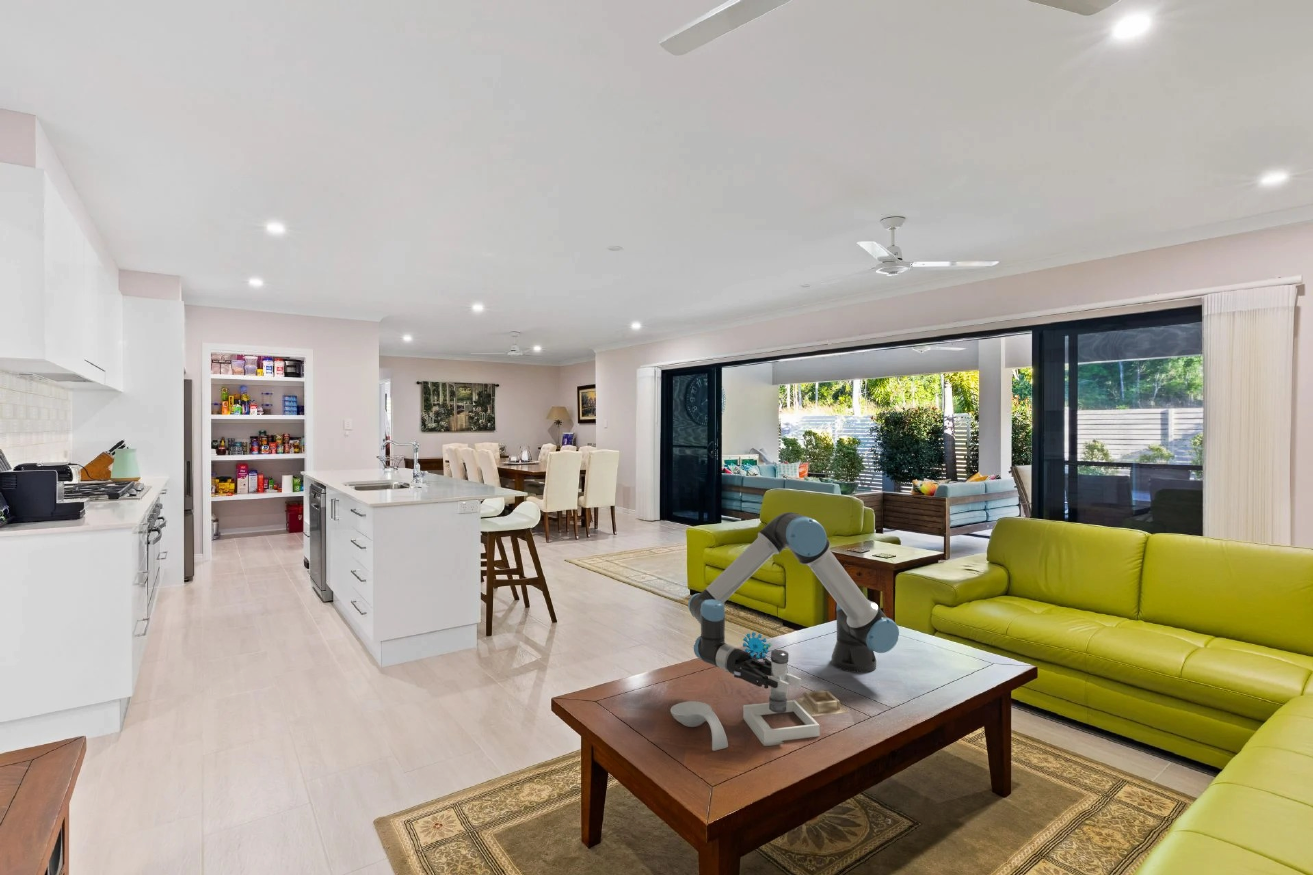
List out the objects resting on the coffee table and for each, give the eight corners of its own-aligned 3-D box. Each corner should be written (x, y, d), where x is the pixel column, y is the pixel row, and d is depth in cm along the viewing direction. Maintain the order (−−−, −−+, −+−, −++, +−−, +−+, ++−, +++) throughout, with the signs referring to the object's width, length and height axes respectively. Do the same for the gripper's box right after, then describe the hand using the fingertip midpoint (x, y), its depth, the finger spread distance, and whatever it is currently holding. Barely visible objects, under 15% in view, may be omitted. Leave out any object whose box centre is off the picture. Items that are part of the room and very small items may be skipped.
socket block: (830, 697, 200) (830, 686, 200) (849, 715, 188) (849, 703, 188) (794, 701, 197) (794, 690, 197) (811, 719, 186) (811, 707, 185)
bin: (794, 712, 190) (794, 699, 190) (819, 739, 174) (819, 724, 174) (743, 718, 186) (743, 705, 186) (764, 746, 171) (764, 731, 171)
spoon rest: (663, 717, 188) (663, 692, 188) (699, 709, 193) (699, 685, 193) (702, 755, 167) (702, 728, 167) (741, 745, 172) (740, 719, 171)
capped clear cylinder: (784, 704, 183) (786, 649, 182) (788, 712, 178) (790, 656, 177) (767, 704, 183) (769, 649, 182) (771, 712, 178) (773, 656, 177)
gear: (745, 656, 231) (741, 630, 238) (740, 663, 235) (736, 637, 242) (774, 658, 233) (769, 632, 240) (768, 665, 237) (764, 639, 244)
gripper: (754, 666, 199) (814, 691, 181) (713, 679, 189) (772, 708, 170) (754, 642, 199) (815, 665, 181) (713, 654, 189) (772, 680, 170)
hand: (794, 686), depth 176 cm, fingers closed on capped clear cylinder, 4 cm apart
